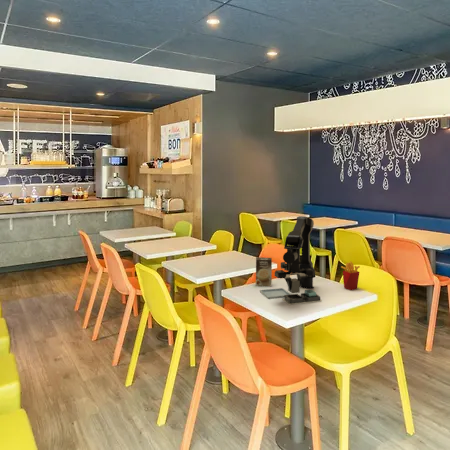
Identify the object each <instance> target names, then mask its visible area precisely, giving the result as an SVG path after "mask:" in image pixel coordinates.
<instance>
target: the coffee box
mask: <svg viewBox="0 0 450 450" xmlns="http://www.w3.org/2000/svg"><path fill="white" fill-rule="evenodd" d="M272 262H273V260H272V257H256V258H255V287H272V280H273V279H272V275H273V274H272V273H273V272H272V265H273V263H272Z"/></svg>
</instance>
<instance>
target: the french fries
mask: <svg viewBox="0 0 450 450" xmlns="http://www.w3.org/2000/svg"><path fill="white" fill-rule="evenodd" d="M340 268H341V269H343V270H342V278H343V279H342V280H343V288H344V289H346V290H347V291H354V290H358V285H359V279H360V278H359V277H360V271H358V269H359V268H361V266H360V265H358V266H357V265H354V263H353V262H352V260H351V261H350V260H349V262H346V263H345V266H343V265H342V266H340Z"/></svg>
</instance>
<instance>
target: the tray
mask: <svg viewBox="0 0 450 450" xmlns="http://www.w3.org/2000/svg"><path fill="white" fill-rule="evenodd" d="M259 292H260V293H261V295H263V297H265V298H266V299H267V300H272V299H284V295H290V294H291V292H290V291H287V290H286V289H285V288H283V287H279V288H270V289H267V288H266V289H260V290H259Z"/></svg>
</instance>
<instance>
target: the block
mask: <svg viewBox="0 0 450 450" xmlns="http://www.w3.org/2000/svg"><path fill="white" fill-rule="evenodd" d="M287 288H288V287H287ZM300 289H301V287H300V281H299V280H298V279H297V277H296V278H291V290H289V288H288V289H287V290H288V291H287V292H289V293H290V294H298V293H300V291H301V290H300ZM300 294H301V293H300Z"/></svg>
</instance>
